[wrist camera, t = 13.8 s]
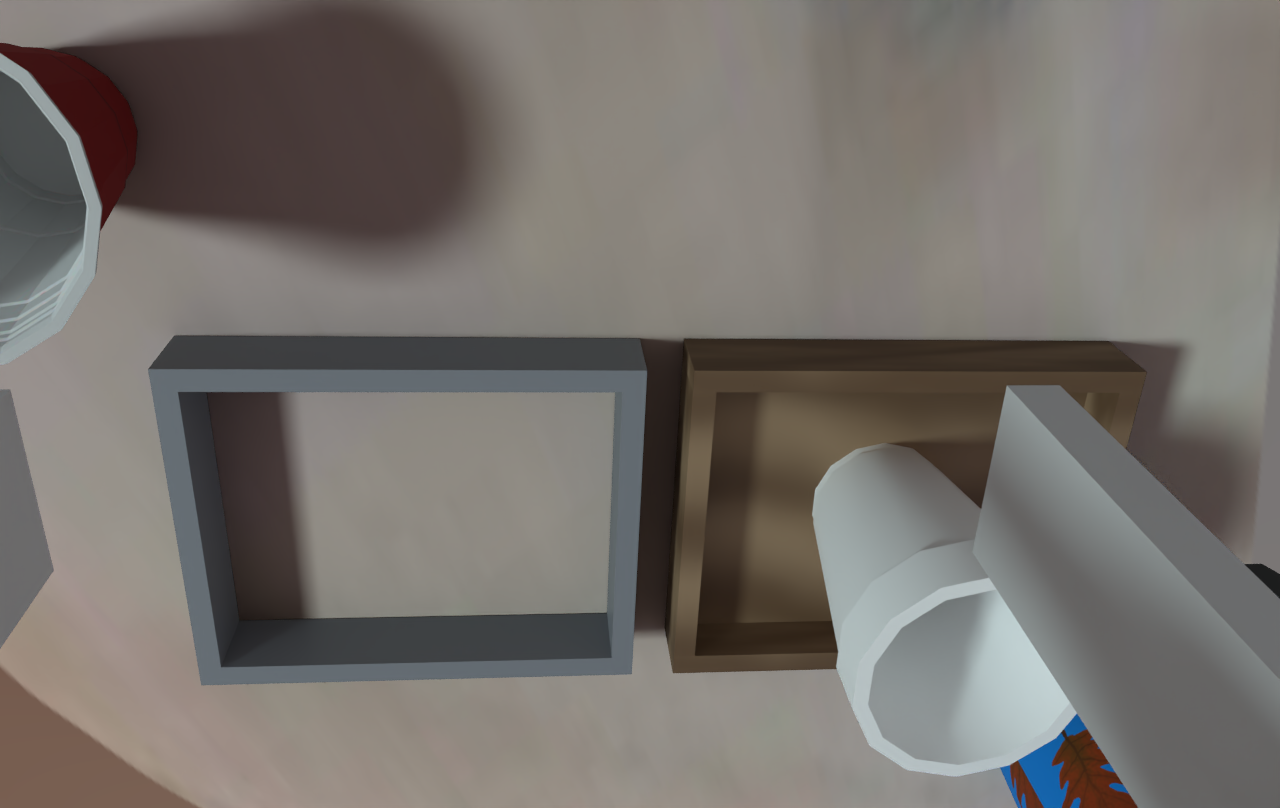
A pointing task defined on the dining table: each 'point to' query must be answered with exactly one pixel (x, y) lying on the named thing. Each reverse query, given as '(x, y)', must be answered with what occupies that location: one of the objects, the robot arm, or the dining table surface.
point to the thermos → (1067, 774)
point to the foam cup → (926, 621)
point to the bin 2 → (804, 451)
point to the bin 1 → (401, 641)
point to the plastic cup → (54, 186)
